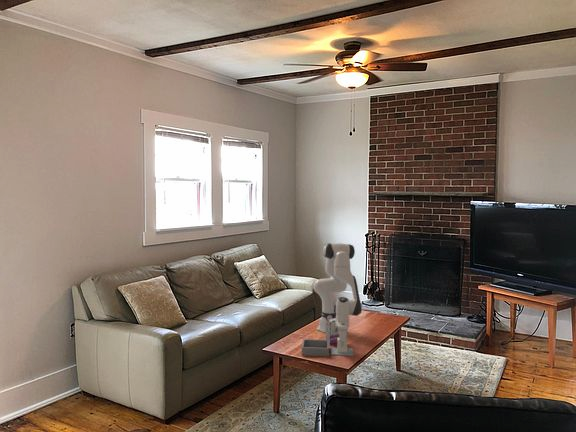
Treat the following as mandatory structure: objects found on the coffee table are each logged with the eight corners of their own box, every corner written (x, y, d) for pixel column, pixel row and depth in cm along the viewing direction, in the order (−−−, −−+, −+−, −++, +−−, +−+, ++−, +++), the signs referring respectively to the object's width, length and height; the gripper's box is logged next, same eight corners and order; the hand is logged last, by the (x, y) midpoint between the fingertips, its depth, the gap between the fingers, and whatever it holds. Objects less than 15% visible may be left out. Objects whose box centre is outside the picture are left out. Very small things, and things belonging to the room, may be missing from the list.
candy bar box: (337, 340, 313) (337, 317, 312) (342, 342, 309) (342, 318, 308) (325, 343, 307) (325, 319, 306) (330, 345, 303) (330, 321, 302)
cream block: (337, 349, 293) (337, 337, 293) (346, 350, 293) (346, 338, 292) (337, 352, 289) (337, 339, 288) (346, 352, 288) (347, 340, 288)
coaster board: (331, 348, 297) (331, 347, 297) (352, 349, 296) (352, 348, 296) (331, 355, 285) (331, 354, 285) (353, 356, 284) (353, 355, 284)
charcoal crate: (303, 346, 300) (303, 339, 300) (328, 347, 299) (328, 340, 299) (301, 355, 285) (301, 347, 284) (328, 356, 283) (328, 348, 283)
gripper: (337, 318, 300) (336, 338, 301) (337, 327, 280) (337, 349, 281) (346, 318, 300) (346, 339, 300) (348, 328, 279) (347, 350, 280)
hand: (342, 344), depth 290 cm, fingers open, 8 cm apart
